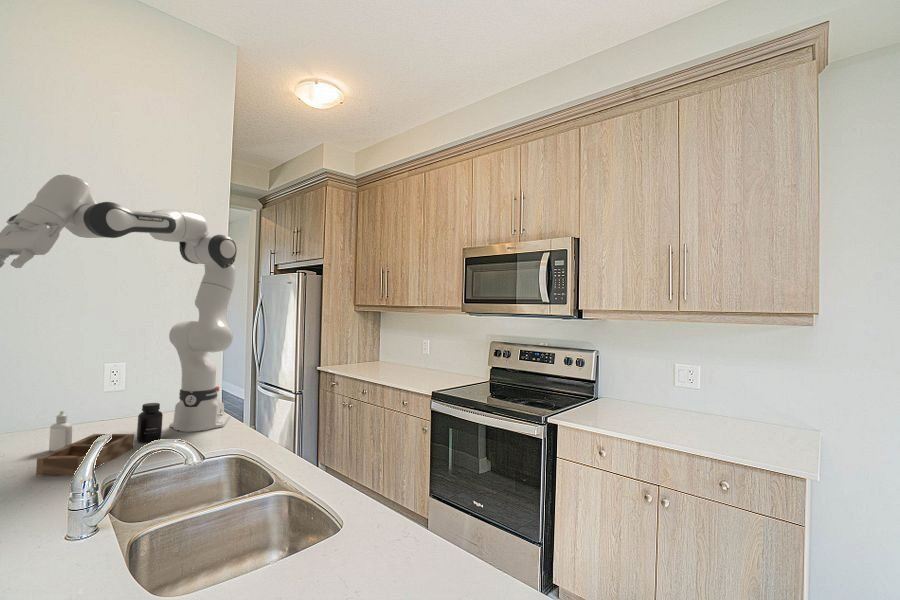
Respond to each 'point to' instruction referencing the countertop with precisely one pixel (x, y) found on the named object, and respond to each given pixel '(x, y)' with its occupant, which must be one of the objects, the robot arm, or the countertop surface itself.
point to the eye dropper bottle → (60, 433)
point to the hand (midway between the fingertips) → (4, 266)
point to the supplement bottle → (149, 423)
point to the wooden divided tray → (82, 454)
